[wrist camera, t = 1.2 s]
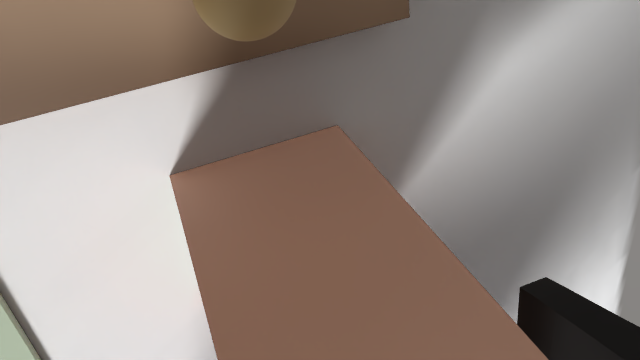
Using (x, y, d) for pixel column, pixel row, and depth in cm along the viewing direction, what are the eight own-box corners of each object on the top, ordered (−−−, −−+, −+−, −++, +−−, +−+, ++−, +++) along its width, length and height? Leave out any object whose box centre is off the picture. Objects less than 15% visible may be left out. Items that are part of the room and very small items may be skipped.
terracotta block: (355, 254, 18) (549, 545, 10) (213, 303, 17) (315, 664, 9) (337, 125, 15) (574, 388, 8) (169, 175, 14) (261, 527, 7)
